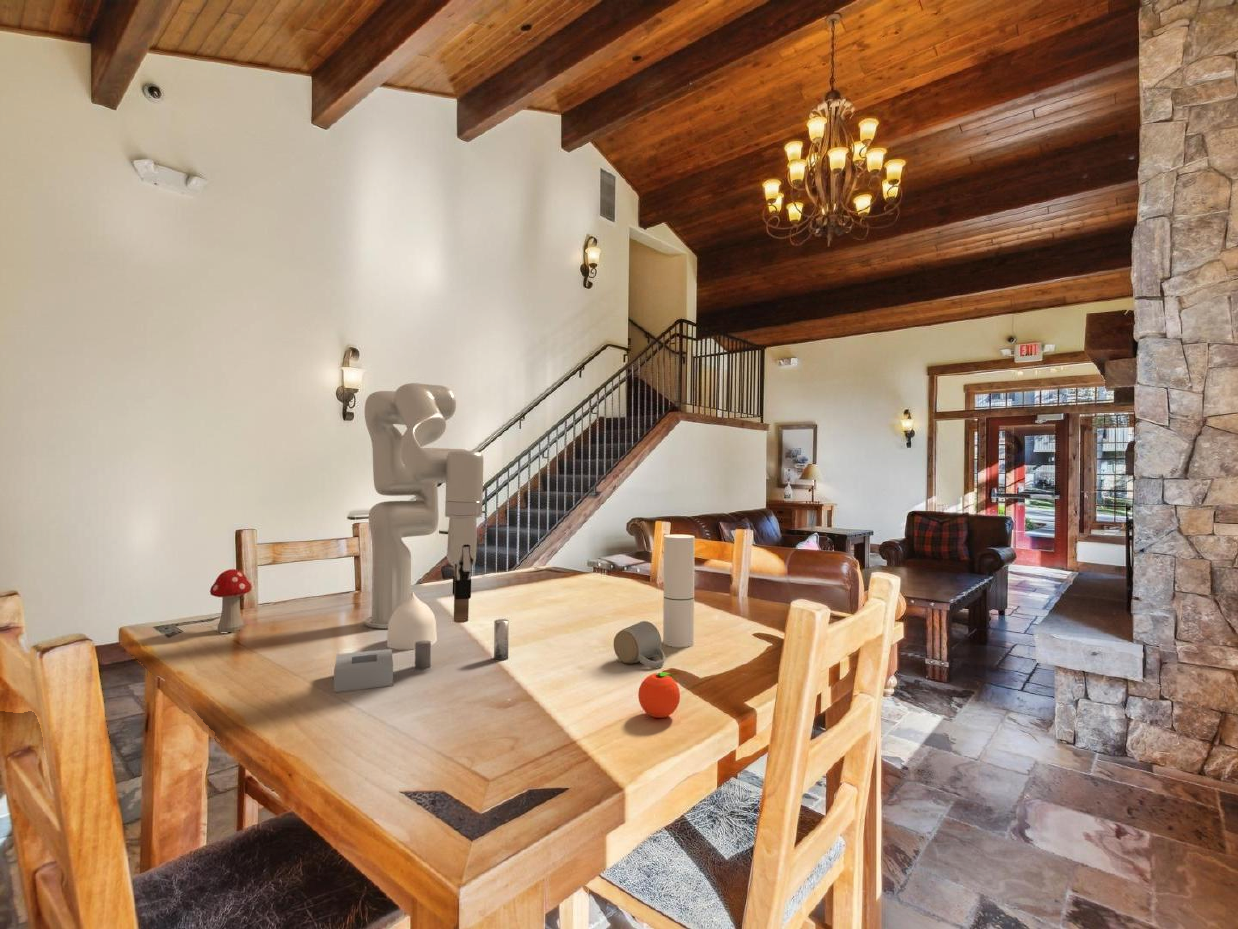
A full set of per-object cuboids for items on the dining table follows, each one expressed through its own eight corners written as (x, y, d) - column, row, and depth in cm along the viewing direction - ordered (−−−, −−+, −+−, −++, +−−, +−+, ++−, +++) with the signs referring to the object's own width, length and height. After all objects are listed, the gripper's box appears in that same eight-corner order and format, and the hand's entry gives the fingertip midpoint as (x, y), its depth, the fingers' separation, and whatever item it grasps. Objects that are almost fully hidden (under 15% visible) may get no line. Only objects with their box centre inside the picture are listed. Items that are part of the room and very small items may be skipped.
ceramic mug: (610, 660, 130) (611, 624, 130) (635, 652, 136) (636, 617, 136) (649, 673, 123) (649, 635, 123) (673, 663, 129) (674, 627, 129)
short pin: (414, 665, 126) (414, 641, 126) (429, 664, 127) (430, 639, 127) (415, 670, 123) (415, 645, 123) (431, 668, 124) (431, 643, 124)
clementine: (657, 702, 107) (658, 662, 107) (691, 713, 103) (691, 671, 103) (629, 717, 101) (629, 674, 101) (663, 729, 97) (664, 683, 97)
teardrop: (376, 647, 138) (376, 594, 138) (404, 634, 149) (405, 585, 149) (420, 651, 136) (420, 597, 136) (445, 638, 146) (446, 587, 146)
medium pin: (492, 657, 132) (493, 619, 132) (506, 655, 133) (507, 618, 133) (495, 661, 129) (495, 623, 129) (509, 659, 130) (509, 622, 130)
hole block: (336, 674, 120) (337, 654, 120) (391, 668, 124) (391, 649, 124) (333, 692, 111) (334, 670, 111) (392, 685, 114) (393, 664, 114)
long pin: (452, 619, 130) (454, 553, 129) (467, 618, 131) (469, 553, 130) (454, 623, 127) (456, 556, 126) (469, 622, 128) (471, 555, 128)
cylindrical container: (693, 639, 147) (694, 534, 147) (694, 648, 140) (695, 538, 140) (663, 638, 147) (664, 534, 147) (662, 646, 140) (663, 537, 140)
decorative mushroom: (217, 626, 155) (217, 567, 155) (255, 624, 157) (256, 565, 157) (203, 637, 145) (204, 573, 145) (244, 634, 148) (245, 572, 148)
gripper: (441, 505, 134) (439, 588, 135) (449, 514, 119) (447, 607, 120) (475, 505, 137) (473, 587, 138) (488, 513, 122) (486, 605, 123)
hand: (461, 595), depth 129 cm, fingers closed on long pin, 3 cm apart
